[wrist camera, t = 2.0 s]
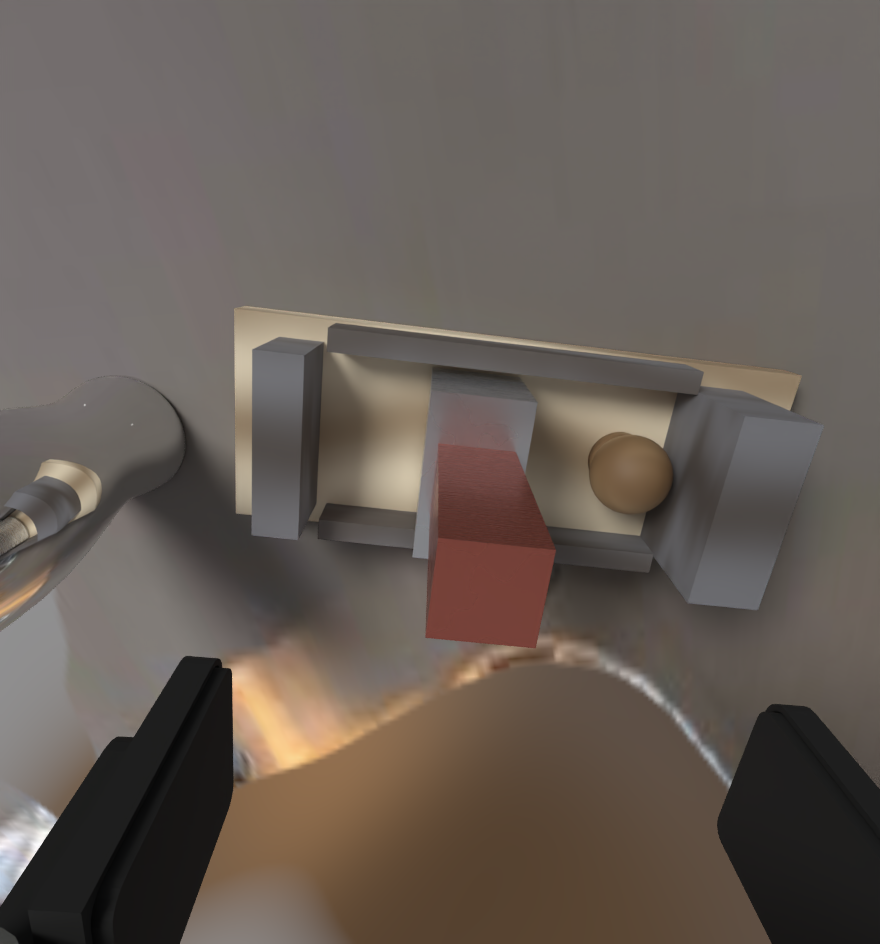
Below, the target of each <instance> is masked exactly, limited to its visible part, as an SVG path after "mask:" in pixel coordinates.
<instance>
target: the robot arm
mask: <svg viewBox="0 0 880 944" xmlns="http://www.w3.org/2000/svg"><path fill="white" fill-rule="evenodd" d="M232 793H233V712H232V671H231V669H229V668H222V663H221V660H220V659H218V658H205V657H193V656H185V657H184V658H183V659H182V660H181V661H180V663H179V665H178V666H177V668H176V669H175V671H174V673H173V674H172V676H171V678H170V679H169V681H168V682H167V684H166V686H165V687H164V689H163V691H162V692H161V694H160V695H159V697H158V699H157V700H156V702H155V704H154V705H153V707H152V708H151V710H150V712H149V713H148V715H147V717H146V718H145V720H144V721H143V723H142V725H141V726H140V728H139V730H138V731H137V733H136V734H135V736H134V737H116V738H115V739H113V740H112V741H111V742H110V743H109V744H108V745H107V747H106V748H105V749H104V751H103V752H102V754H101V755H100V757H99V758H98V760H97V761H96V763H95V764H94V766H93V767H92V769H91V770H90V772H89V773H88V775H87V777H86V778H85V779H84V781H83V783H82V784H81V786H80V787H79V789H78V790H77V792H76V793H75V795H74V796H73V798H72V799H71V801H70V802H69V804H68V805H67V807H66V808H65V810H64V811H63V813H62V814H61V816H60V817H59V819H58V820H57V822H56V823H55V825H54V826H53V828H52V829H51V831H50V832H49V834H48V836H47V837H46V839H45V840H44V842H43V843H42V845H41V846H40V848H39V849H38V851H37V852H36V854H35V855H34V857H33V858H32V860H31V861H30V863H29V864H28V866H27V867H26V869H25V870H24V872H23V873H22V875H21V876H20V878H19V879H18V881H17V882H16V884H15V886H14V887H13V889H12V890H11V892H10V893H9V895H8V896H7V898H6V899H5V901H4V902H3V904H2V905H1V907H0V944H180V941H181V939H182V936H183V933H184V931H185V927H186V925H187V922H188V919H189V917H190V914H191V911H192V908H193V905H194V903H195V900H196V897H197V895H198V892H199V889H200V886H201V884H202V881H203V878H204V875H205V873H206V870H207V867H208V864H209V862H210V859H211V856H212V853H213V851H214V848H215V845H216V842H217V840H218V837H219V834H220V831H221V829H222V825H223V823H224V820H225V817H226V815H227V812H228V809H229V806H230V802H231V798H232ZM717 827H718V834H719V838H720V840H721V843H722V845H723V847H724V849H725V851H726V853H727V854H728V857H729V859H730V861H731V863H732V865H733V867H734V869H735V871H736V873H737V875H738V877H739V879H740V881H741V883H742V885H743V887H744V889H745V891H746V893H747V894H748V897H749V899H750V901H751V903H752V905H753V907H754V909H755V911H756V913H757V915H758V917H759V919H760V921H761V923H762V925H763V927H764V929H765V931H766V933H767V935H768V937H769V939H770V941H771V943H772V944H880V789H879V788H878V787H877V786H876V784H875V783H874V782H873V781H872V780H871V779H870V777H869V776H868V775H867V774H866V773H865V771H864V770H863V769H862V768H861V767H860V766H859V764H858V763H857V762H856V761H855V760H854V759H853V757H852V756H851V755H850V754H849V753H848V751H847V750H846V749H845V748H844V747H843V746H842V744H841V743H840V742H839V741H838V740H837V738H836V737H835V736H834V735H833V734H832V733H831V731H830V730H829V729H828V728H827V727H826V725H825V724H824V723H823V722H822V721H821V720H820V718H819V717H818V716H817V715H816V714H815V713H814V712H813V711H812V710H811V709H810V708H807V707H805V706H793V705H781V704H772V705H770V706H769V707H768V708H767V710H766V711H765V712H762V713H760V714H759V716H758V718H757V720H756V723H755V725H754V728H753V730H752V733H751V735H750V738H749V740H748V743H747V746H746V748H745V751H744V753H743V756H742V758H741V761H740V763H739V766H738V768H737V771H736V773H735V776H734V779H733V781H732V784H731V786H730V789H729V791H728V794H727V796H726V799H725V802H724V804H723V807H722V809H721V812H720V814H719V817H718V823H717Z"/></svg>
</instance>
